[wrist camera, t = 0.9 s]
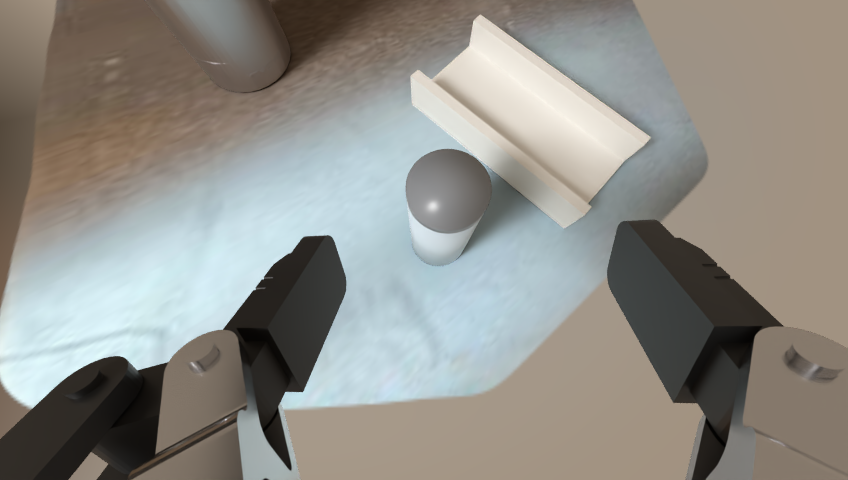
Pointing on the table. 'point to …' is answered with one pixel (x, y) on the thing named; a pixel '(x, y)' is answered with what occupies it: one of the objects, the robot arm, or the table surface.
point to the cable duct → (527, 122)
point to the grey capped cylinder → (445, 203)
